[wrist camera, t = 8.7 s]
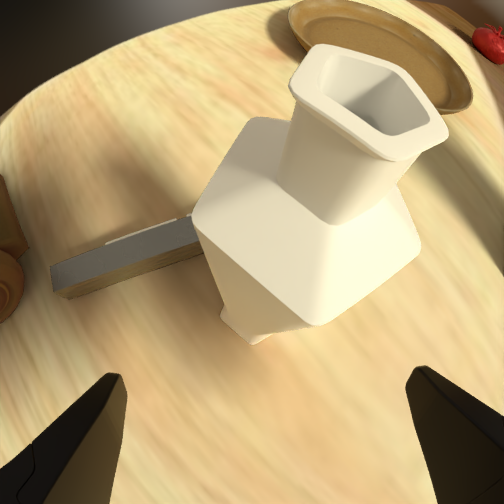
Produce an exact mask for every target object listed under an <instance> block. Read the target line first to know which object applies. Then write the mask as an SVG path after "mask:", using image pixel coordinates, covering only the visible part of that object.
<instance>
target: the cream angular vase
mask: <svg viewBox="0 0 504 504" xmlns="http://www.w3.org/2000/svg"><path fill="white" fill-rule="evenodd" d="M288 87H289V89H290V91H291V93H292V95H293V97H294V98H295V100H296V105H295V108H294V112H293V116H292V119H291V121H288V120H282V119H275V118H268V117H254V118H251V119H250V120H249V121H248V122H247V123H246V125H245V126H244V128H243V129H242V131H241V132H240V134H239V135H238V137H237V138H236V140H235V142H234V143H233V145H232V146H231V148H230V149H229V151H228V153H227V154H226V156H225V157H224V159H223V160H222V162H221V164H220V165H219V167H218V168H217V170H216V172H215V173H214V175H213V177H212V178H211V180H210V182H209V183H208V185H207V187H206V188H205V190H204V192H203V193H202V195H201V197H200V198H199V200H198V202H197V203H196V205H195V207H194V209H193V212H192V215H191V216H192V222H193V225H194V228H195V230H196V233H197V236H198V238H199V241H200V244H201V246H202V249H203V251H204V254H205V257H206V259H207V262H208V264H209V267H210V269H211V272H212V275H213V277H214V280H215V282H216V285H217V287H218V290H219V292H220V295H221V297H222V300H223V302H224V306H223V309H222V311H221V313H220V318H221V319H222V321H224V322H225V323H226V324H227V325H228V326H229V327H230V328H231V329H233V330H234V331H235V332H236V333H237V334H238V335H239V336H241V337H242V338H243V339H244V340H245V341H246V342H247V343H249V344H250V345H255V344H257V343H259V342H260V341H262V340H264V339H265V338H267V337H269V336H270V335H272V334H274V333H279V332H286V331H293V330H299V329H305V328H311V327H317V326H321V325H324V324H326V323H328V322H330V321H331V320H333V319H334V318H335V317H337V316H338V315H340V314H341V313H343V312H344V311H345V310H347V309H348V308H350V307H351V306H353V305H354V304H355V303H357V302H358V301H359V300H361V299H362V298H364V297H365V296H366V295H368V294H369V293H370V292H372V291H373V290H374V289H376V288H377V287H378V286H380V285H381V284H382V283H384V282H385V281H386V280H387V279H389V278H390V277H391V276H393V275H394V274H395V273H396V272H398V271H399V270H400V269H401V268H403V267H404V266H405V265H406V264H408V263H409V262H410V261H411V260H413V259H414V258H415V257H416V256H417V255H418V254H419V253H420V251H421V242H420V238H419V236H418V233H417V231H416V228H415V226H414V223H413V221H412V218H411V216H410V213H409V211H408V209H407V206H406V204H405V202H404V200H403V197H402V195H401V193H400V191H399V189H398V186H397V184H396V183H397V182H398V180H399V179H400V178H401V177H402V176H403V174H404V173H405V172H406V171H407V170H408V168H409V167H410V166H411V165H412V164H413V162H414V161H415V160H416V159H417V158H418V156H419V155H420V154H421V153H422V152H423V151H425V150H427V149H429V148H431V147H433V146H435V145H437V144H439V143H442V142H444V141H445V140H446V139H447V138H448V136H449V133H448V128H447V126H446V124H445V122H444V120H443V119H442V117H441V116H440V114H439V113H438V111H437V110H436V108H435V107H434V106H433V104H432V103H431V101H430V100H429V99H428V97H427V96H426V95H425V93H424V92H423V91H422V89H421V88H420V87H419V86H418V84H417V83H416V82H415V80H414V79H413V78H412V77H411V76H410V75H409V74H408V73H407V72H406V71H405V70H404V69H403V68H401V67H400V66H398V65H396V64H393V63H391V62H389V61H386V60H383V59H380V58H376V57H373V56H370V55H367V54H363V53H360V52H356V51H353V50H349V49H345V48H341V47H338V46H333V45H328V44H317V45H315V46H314V47H312V48H311V49H310V50H309V52H308V53H307V55H306V56H305V57H304V59H303V60H302V62H301V63H300V65H299V66H298V68H297V69H296V71H295V72H294V74H293V75H292V77H291V78H290V81H289V85H288Z"/></svg>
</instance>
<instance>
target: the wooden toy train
mask: <svg viewBox="0 0 504 504" xmlns="http://www.w3.org/2000/svg"><path fill="white" fill-rule="evenodd" d="M28 248H29V247H28V244H27V242H26V240H25V237H24V235H23V232H22V230H21V227H20V225H19V222H18V219H17V217H16V214H15V211H14V208H13V206H12V203H11V200H10V197H9V194H8V191H7V187H6V184H5V181H4V178H3V176H2V175H1V174H0V323H2V322H3V321H4V320H5V319H6V318H7V317H9V316H10V315H11V314H12V312H13V311H14V310H15V309H16V307H17V306H18V304H19V301H20V299H21V297H22V295H23V290H24V273H23V270H22V267H21V265H20V264H19V263H18V262H17V261H16V260H17V259H18V258H19V257H20V256H21V255H22V254H23V253H24V252H25V251H26V250H27V249H28Z"/></svg>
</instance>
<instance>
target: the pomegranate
mask: <svg viewBox="0 0 504 504" xmlns="http://www.w3.org/2000/svg"><path fill="white" fill-rule="evenodd" d="M486 25H487V24H486ZM488 26H489V25H488ZM489 27H490V26H489ZM491 27H492V26H491ZM491 27H490V28H491ZM493 28H494V27H493ZM501 31H502V28H501V27H500V26H499V29H498V31H496V29H495V28H494V30H493V29H492V30H490V29H487V28H477V29H476V30H475V31H474V33H473V36H472V42H473V44H474V45H475V47H476V48H477V49H478V50H479V51H480V52H481V53H482V54H483V55H484V56H485V57H486V58H487V59H489V60H491V61H492V62H494V63H495V64H499V65H501V64H503V63H504V36H503V35H500V32H501ZM501 36H503V37H501Z"/></svg>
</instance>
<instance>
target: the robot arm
mask: <svg viewBox="0 0 504 504" xmlns="http://www.w3.org/2000/svg"><path fill="white" fill-rule="evenodd" d="M405 389H406V394H407V398H408V402H409V406H410V410H411V414H412V419H413V423H414V427H415V430H416V433H417V436H418V439H419V442H420V445H421V448H422V451H423V454H424V458H425V461H426V464H427V467H428V471H429V474H430V477H431V481H432V484H433V488H434V492H435V495H436V499H437V503H438V504H504V416H502V415H501V414H499V413H498V412H496V411H495V410H493V409H492V408H490V407H489V406H487V405H486V404H484V403H483V402H481V401H480V400H478V399H477V398H475V397H474V396H472V395H471V394H469V393H468V392H466V391H465V390H463V389H461V388H460V387H458V386H457V385H455V384H454V383H452V382H451V381H449V380H448V379H446V378H445V377H443V376H442V375H440V374H439V373H437V372H436V371H434V370H433V369H431V368H430V367H428V366H425V365H424V366H418V367H415V368H414V370H413V371H412V373H411V375H410V377H409V379H408V381H407V383H406V387H405ZM126 404H127V391H126V388H125V385H124V382H123V379H122V376H121V375H120V374H117V373H110V372H108V373H106V374H105V375H104V376H103V377H101V378H100V379H99V380H98V381H97V382H96V383H95V384H94V385H93V386H92V387H91V388H89V389H88V390H87V391H86V392H85V393H84V394H83V395H82V396H81V397H80V398H79V399H78V400H76V401H75V402H74V403H73V404H72V405H71V406H70V407H69V408H68V409H67V410H66V411H65V412H63V413H62V414H61V415H60V416H59V417H58V418H57V419H56V420H55V421H54V422H53V423H52V424H51V425H49V426H48V427H47V428H46V429H45V430H44V431H43V432H42V433H41V434H40V435H39V436H38V437H37V438H35V439H34V440H33V441H32V444H29V445H28V446H27V447H26V448H25V449H24V450H23V451H21V452H20V453H19V454H18V455H17V456H16V457H15V458H13V459H12V460H11V461H10V462H8V463H7V464H6V465H5V466H3V467H2V468H1V469H0V504H109V503H110V497H111V492H112V487H113V482H114V477H115V472H116V467H117V463H118V458H119V454H120V449H121V444H122V438H123V429H124V420H125V412H126Z"/></svg>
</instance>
